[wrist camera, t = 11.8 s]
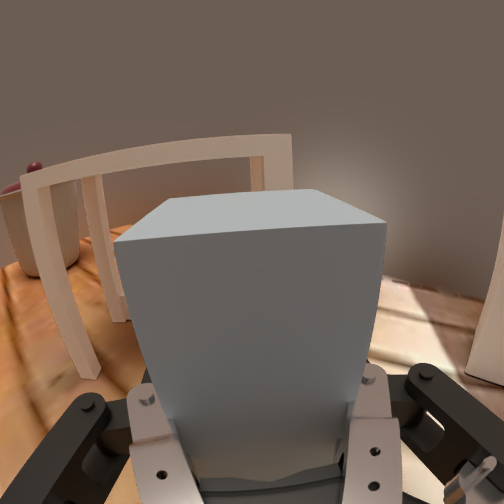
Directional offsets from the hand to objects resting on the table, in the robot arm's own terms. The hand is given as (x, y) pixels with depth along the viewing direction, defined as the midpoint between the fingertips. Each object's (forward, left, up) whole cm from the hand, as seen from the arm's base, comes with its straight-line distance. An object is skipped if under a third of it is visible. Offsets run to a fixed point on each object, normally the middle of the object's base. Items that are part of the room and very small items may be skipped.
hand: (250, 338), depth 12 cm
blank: (+2, -2, -7) cm, 7 cm away
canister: (-51, +3, -9) cm, 52 cm away
